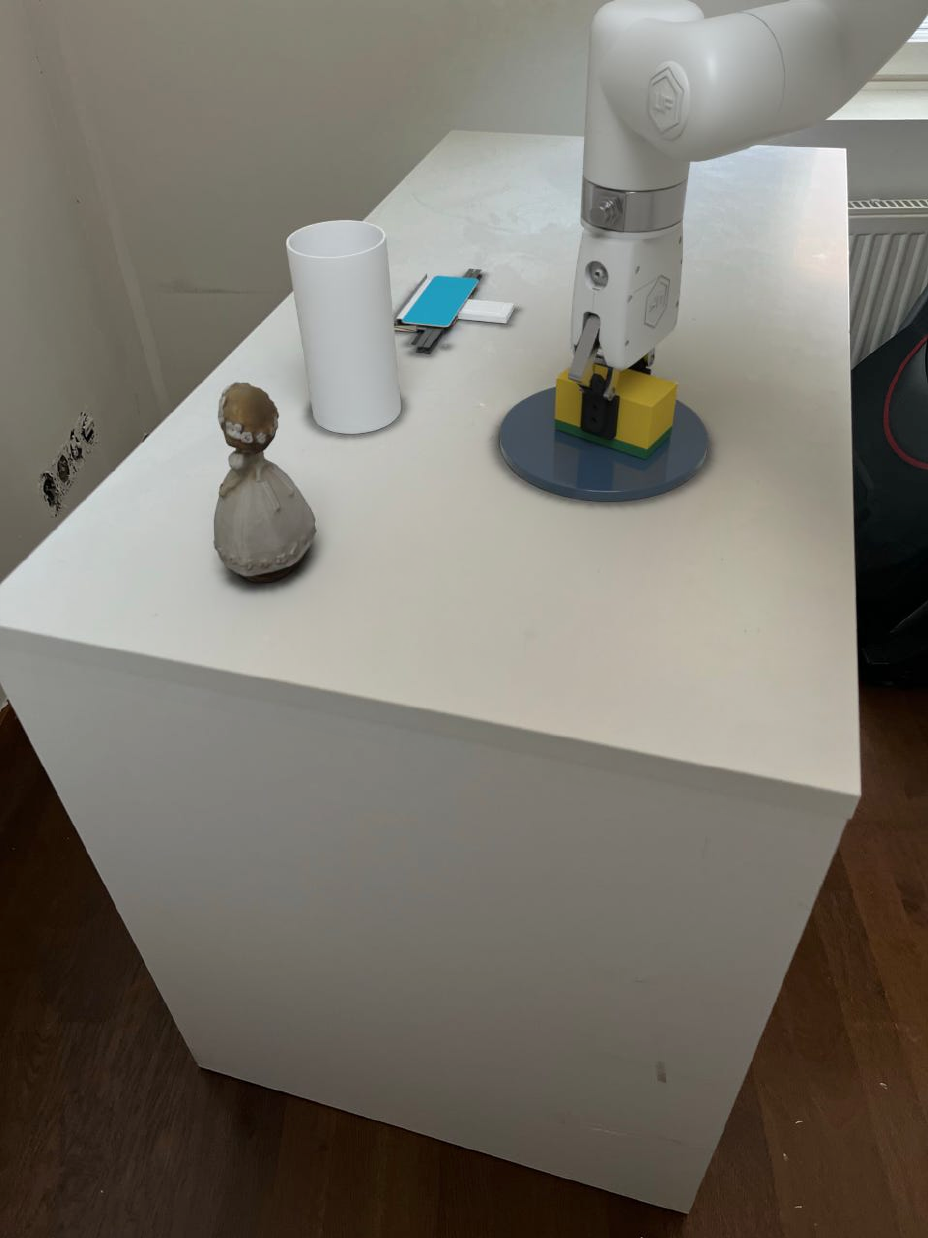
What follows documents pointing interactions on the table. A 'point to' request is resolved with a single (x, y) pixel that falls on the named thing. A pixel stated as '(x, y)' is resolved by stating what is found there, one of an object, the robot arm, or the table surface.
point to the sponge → (623, 411)
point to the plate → (596, 455)
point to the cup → (346, 324)
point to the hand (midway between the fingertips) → (613, 418)
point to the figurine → (257, 494)
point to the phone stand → (445, 308)
